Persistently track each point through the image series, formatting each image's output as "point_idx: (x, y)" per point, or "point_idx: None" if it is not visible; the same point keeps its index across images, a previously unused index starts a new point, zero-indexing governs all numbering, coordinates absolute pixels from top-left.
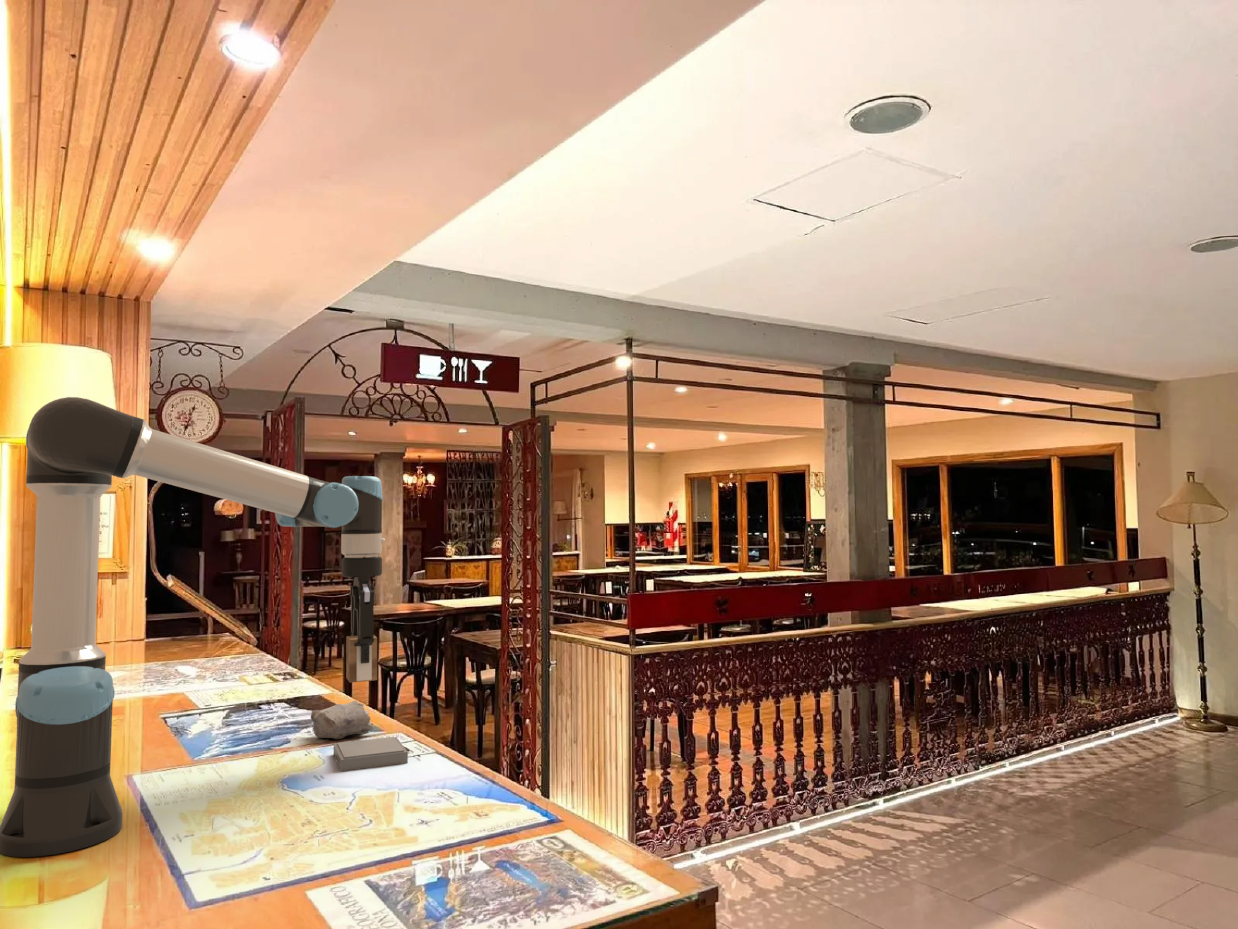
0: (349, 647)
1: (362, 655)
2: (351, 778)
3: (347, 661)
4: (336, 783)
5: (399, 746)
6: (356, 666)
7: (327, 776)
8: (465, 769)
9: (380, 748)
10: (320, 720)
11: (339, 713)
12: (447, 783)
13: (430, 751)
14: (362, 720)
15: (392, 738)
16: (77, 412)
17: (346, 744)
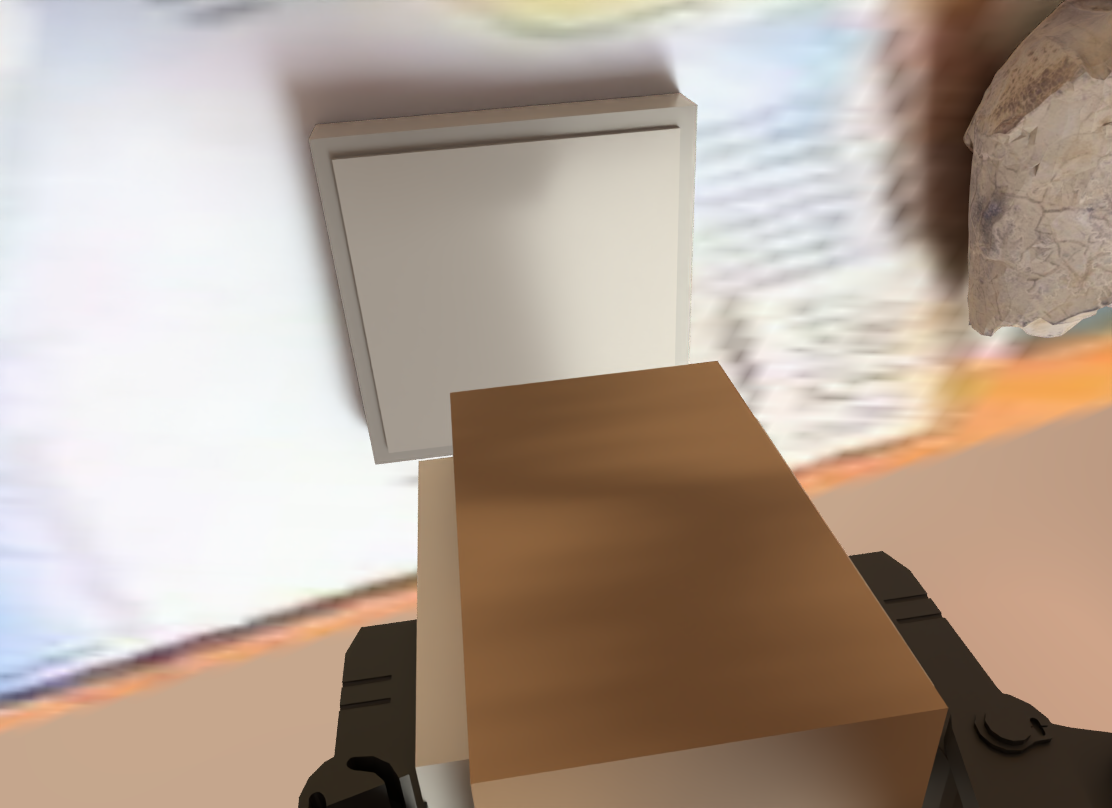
0: (504, 663)
1: (344, 717)
2: (162, 176)
3: (676, 478)
4: (74, 92)
5: None
6: (457, 549)
7: (229, 44)
8: (216, 624)
9: (462, 352)
10: (1091, 36)
11: (1067, 173)
12: (15, 562)
13: None
14: (979, 292)
15: None
16: None
17: (622, 180)
